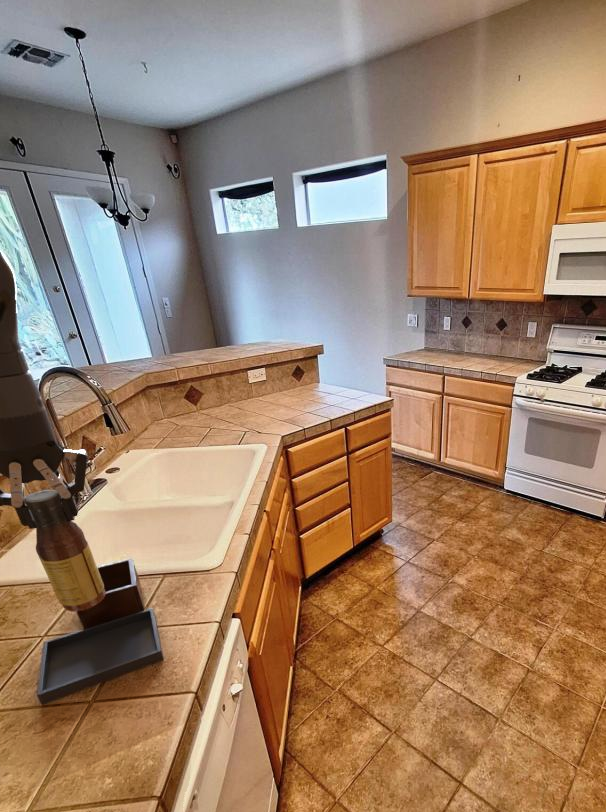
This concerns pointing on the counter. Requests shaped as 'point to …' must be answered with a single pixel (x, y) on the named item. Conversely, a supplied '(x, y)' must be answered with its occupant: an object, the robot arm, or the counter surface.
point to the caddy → (115, 594)
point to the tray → (98, 655)
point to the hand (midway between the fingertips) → (52, 521)
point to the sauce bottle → (64, 553)
